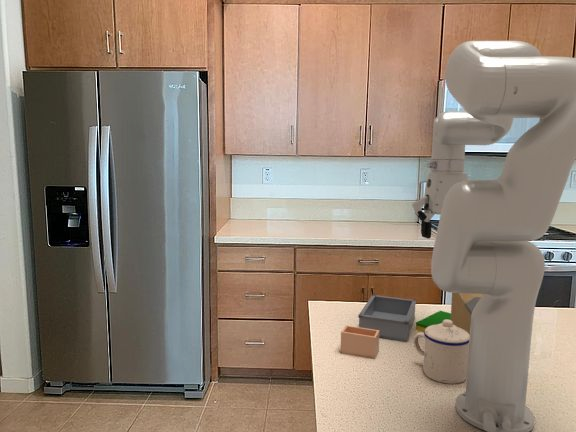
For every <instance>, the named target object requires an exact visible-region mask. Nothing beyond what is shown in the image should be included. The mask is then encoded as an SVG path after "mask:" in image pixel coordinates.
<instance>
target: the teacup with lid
mask: <svg viewBox="0 0 576 432" xmlns="http://www.w3.org/2000/svg"><path fill="white" fill-rule="evenodd" d="M419 337H422V338H424V347H423V348H424V349H422V348H421V346H420V344H419ZM469 337H470V335H469V334H468V332H466V331H465V330H463V329H461V328H459V327H457V326H455V325H453V322H452V321H451V320H448V319H445V320H443V323H440V324H437V325H431V326H428V327H427V328H426V329H425V331H424V332H421V331H419V332H418V333H416V334H415V335H414V337H413V347H414V349H415V351H416V352H417V353H418V354H419V355H421V356H423V366H422V369H423V370H422V371H423V372H424V374H425V376H426V377H428V378H429V379H431V380H433V381H435V382H439V383H443V384H451V385H453V384H461V383H463V382H465V381H466V380H467V366H468V351H469Z"/></svg>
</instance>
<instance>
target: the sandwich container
mask: <svg viewBox="0 0 576 432" xmlns="http://www.w3.org/2000/svg"><path fill="white" fill-rule="evenodd" d="M483 295H484V294H472V293H451V302H450V303H451V306H450V309H451V310H450V313H451V321H452V322H453V325H455V326H457V327H459V328H461V329H463V330H465V331H466V332H468V334H469V335H470V323H471V315H472V312H473V309H474V307H475V306H476V304H477V302H478V301H479V300H480V298H481V297H482V296H483Z"/></svg>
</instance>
